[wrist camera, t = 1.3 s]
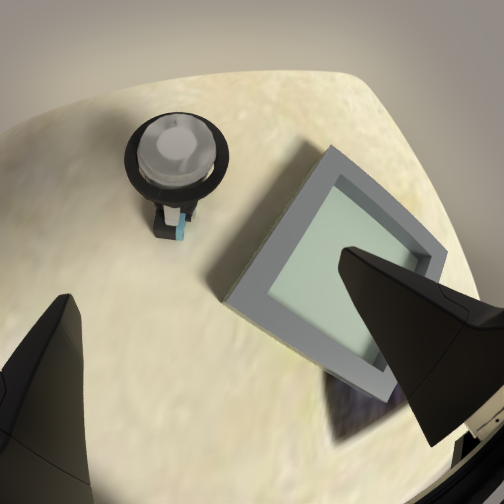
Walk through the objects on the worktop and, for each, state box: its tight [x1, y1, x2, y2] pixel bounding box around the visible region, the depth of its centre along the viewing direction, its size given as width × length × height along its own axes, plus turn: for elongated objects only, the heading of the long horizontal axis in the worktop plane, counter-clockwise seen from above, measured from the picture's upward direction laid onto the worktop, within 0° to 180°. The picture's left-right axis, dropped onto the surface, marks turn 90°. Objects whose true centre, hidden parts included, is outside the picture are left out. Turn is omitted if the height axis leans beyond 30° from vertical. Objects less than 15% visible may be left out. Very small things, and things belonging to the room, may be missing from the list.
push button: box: [124, 112, 229, 241], centre depth 18 cm, size 7×5×10 cm
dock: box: [221, 145, 448, 402], centre depth 24 cm, size 16×16×3 cm
